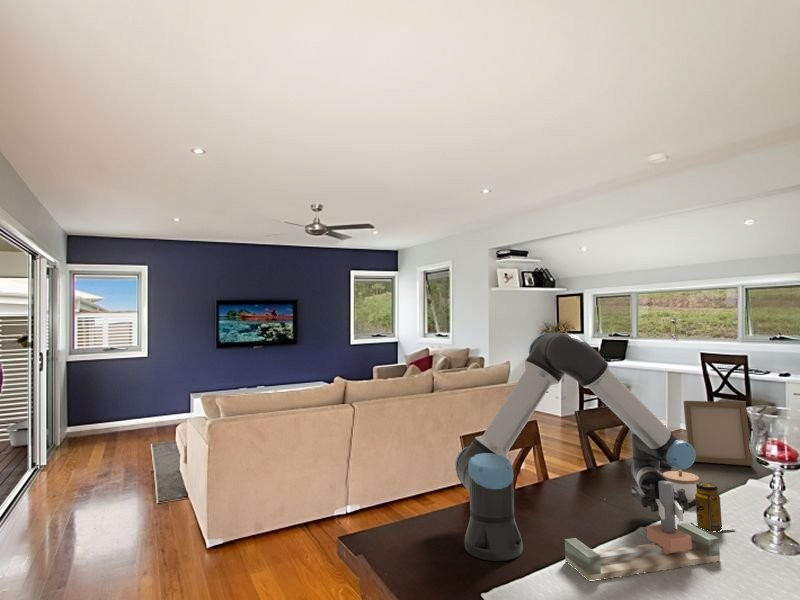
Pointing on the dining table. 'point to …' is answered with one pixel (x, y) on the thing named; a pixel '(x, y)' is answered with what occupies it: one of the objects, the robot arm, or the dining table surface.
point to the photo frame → (718, 432)
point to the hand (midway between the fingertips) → (672, 514)
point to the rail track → (647, 563)
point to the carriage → (668, 525)
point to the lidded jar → (683, 482)
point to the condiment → (708, 507)
